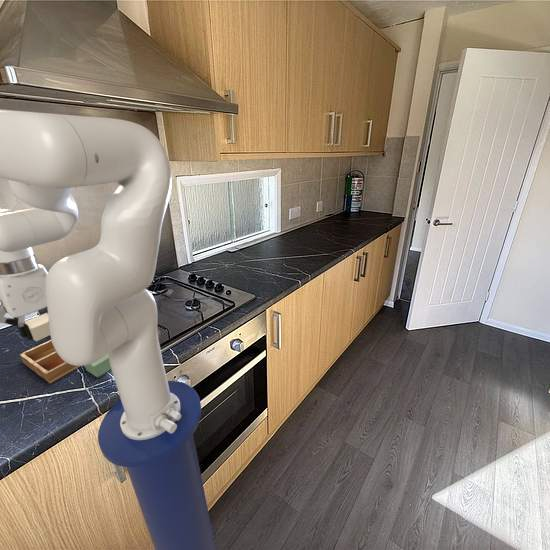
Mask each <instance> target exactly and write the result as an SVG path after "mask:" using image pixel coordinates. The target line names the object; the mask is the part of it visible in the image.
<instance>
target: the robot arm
mask: <svg viewBox="0 0 550 550" xmlns="http://www.w3.org/2000/svg"><path fill="white" fill-rule="evenodd" d="M0 178H1V179H5V180H7V181H8V182H7V183H8V186H9V189H10V191H11V192H12V193H13V195H14V196H15V197H16V198H18V199H19V200H20V201H21V202H23V203H25V204H26V205H28V206H30V207H32V208H28V209H22V210H21V209H20V210H16V209H11V208H0V323H1V324H5V325H10V326H13V327H17V329H18V332H19V334H20V336H21V337H22V338H23V339H24V338H25V339H27V340H29V341H32V340H33V337H32V334H31V332H30V330H29V327H28V325H27V324H25V321H26V319H25V318H26V316H27V315H30V314H33V313H35V312H38V311H40V310H43V309H46V308H47V314H48V318H49V328H50V335H49V336H50V340H52V343H53V346H54V348H55V350H56V352H57V354H58V355H59V356H60V357H61V358H62V359H63V360H64V361H65V362H67V363H68V364H71V365H74V366H80V367H85V365H89V364H91V363H94V362H95V361H97V360H99V359H101V358H102V357H104V356H105V355H107V354H108V353H109V362H110V366H111V369H110V371H111V373H112V376H113V380H114V382H115V385H116V389H117V392H118V395H119V399H121V401H122V405H123V408H124V413H123V415H122V417H121V420H120V426H121V430H122V432H123V434H124V435H125V436H126V437H128V438H130V439H133V440H147V439H150V438H154V437H156V436H158V435H160V434H162V433H163V432H165V431H167V432H169V433H171V434H172V433H173V432H175V430H176V428H177V425H176V424H175V421H176V420H177V421H178V420H179V419H180V418H181V414H180V410H181V406H180V401H179V399H178V397H177V396H176V395H174V394H173V393H170V390H169V386H168V381H169V380H168V376H167V373H166V369H165V364H164V360H163V355H162V350H161V344H160V339H159V331H158V318H159V317H158V307H157V306H158V305H157V302H156V299H155V297H154V296H153V294H152V293H151V292H150V291H149V290H148V289H147V288H148V287H150V286H151V284H152V283H153V280H154V278H155V274H156V269H157V263H158V256H159V249H160V244H161V243H160V241H161V236H162V235H161V234H162V228H163V223H164V219H165V214H166V210H167V208H168V204H169V201H170V196H171V190H172V179H173V178H172V169H171V163H170V159H169V156H168V154H167V152H166V149H165V147H164V146H163V144H162V142H161V141H160V140H159V138H158V137H157V135H155V134H154V133H153V132H152V130H150V129H149V128H147V127H145V126H144V125H141V124H139V123H136V122H133V121H129V120H127V119H121V118H112V117H101V116H86V115H73V114H60V113H49V112H36V111H26V110H14V109H13V110H11V109H2V108H0ZM112 183H118V186H117V188H116V189H115V192H114V193H113V194H112V196H111V197H110V198H109V200H108V201H107V203H106V205H105V207H104V210H103V212H102V216H101V220H100V238H99V241H98V243H97V245H95V246H94V247H91V248H89V249H86V250H84V251H80V252H77V253H74V254H71V255H67V256H65V257H63V258H61V259H59V260H58V261H56V262H55V263H53V265H52V266H51V267H50V269H49V270H48V271H47V269H46V267H45V266H44V265H43V264H40V263H39V262H38V259H37V257H36V255H35V252H34V249H33V248H34V247H37V246H40V245H44V244H48V243H52V242H56V241H59V240H62V239H65V238H66V237H68V235H69V234H70V233H71V232H72V231H73V229H74V228H75V226H76V225H77V223H78V220H79V209H78V204H77V202H76V200H75V198H74V196H73V195H72V192H73V190H74V188H79V187H80V188H81V187H87V186H88V187H89V186H97V185H105V184H112ZM6 314H8V315H9V316H10V317H7V316H5V315H6Z"/></svg>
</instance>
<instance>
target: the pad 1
mask: <svg viewBox="0 0 550 550" xmlns="http://www.w3.org/2000/svg"><path fill="white" fill-rule="evenodd" d="M24 322H25V324H27V325H28V327H29V330H30V332H31V334H32V337H33V339H32V340H33V341H35V342H39V341H40V340H43V339H45V338H47V337H49V336H51V335H50V328H49V318H48V312H45V313H42V314H40V315H38V316H35V317H32V318H29V319H28V320H25V321H24Z"/></svg>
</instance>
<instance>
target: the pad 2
mask: <svg viewBox="0 0 550 550" xmlns="http://www.w3.org/2000/svg"><path fill="white" fill-rule="evenodd" d="M84 368H85V370H86V371H87V372H88V373H89V374H92V375H93V376H94V377H96V378H99V377H101V376H102V375H104V374H106V373H107V372H109V371H111V366H110V362H109V353H108V354H107V355H105V356H104V357H102V358H101V359H99V360H97V361H95V362H94V363H91V364H89V365H85V366H84Z"/></svg>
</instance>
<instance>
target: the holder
mask: <svg viewBox="0 0 550 550" xmlns="http://www.w3.org/2000/svg"><path fill="white" fill-rule="evenodd" d="M19 356H20V360H21V361H22V363H23V364H24V365H25V366H26V367H28V368H29V369H30V370H32V371H33V372H34V373H36V374H37V375H38V376H39V377H41V378H42V379H44V380H45V381H46V382H47V383H49V384H52V383H54V382H55V381H57V380H59V379H60V378H62V377H64V376H66V375H68V374H69V373H72V372H73V371H75V370H76V369H78V368H80V367H81V366H74V365H71V364H68V363H67V362H65V361H64V360H63V359H62V358H61V357H60V356H59V355H58V354H57V352H56V350H55V348H54V346H53V343H52V340H51V339H50V340H47V341H45V342H43V343H41V344H39V345H37V346H35V347H32V348H30V349H28V350H26V351H24V352H22V353H19Z"/></svg>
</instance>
